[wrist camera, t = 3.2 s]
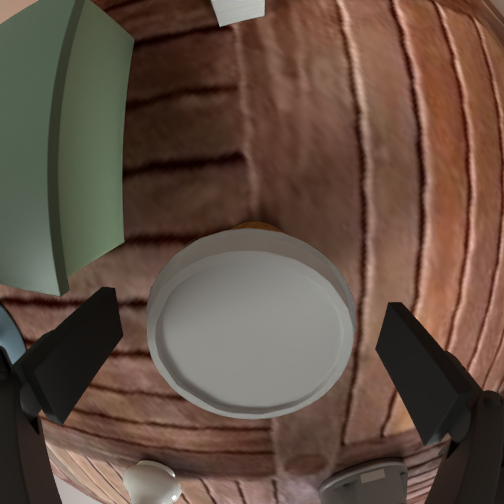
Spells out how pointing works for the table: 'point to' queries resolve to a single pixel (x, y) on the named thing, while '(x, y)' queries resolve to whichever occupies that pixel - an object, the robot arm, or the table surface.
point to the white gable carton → (237, 10)
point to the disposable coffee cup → (250, 322)
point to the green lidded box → (60, 141)
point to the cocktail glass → (10, 336)
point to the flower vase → (151, 483)
